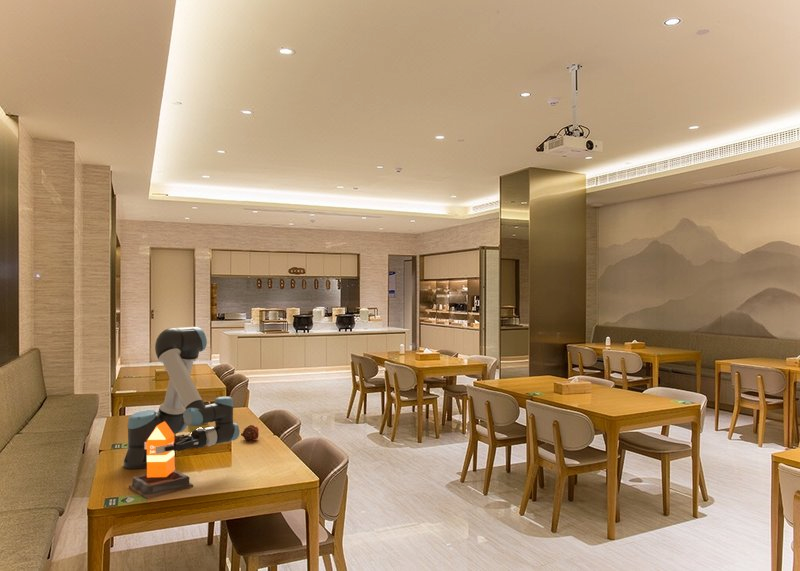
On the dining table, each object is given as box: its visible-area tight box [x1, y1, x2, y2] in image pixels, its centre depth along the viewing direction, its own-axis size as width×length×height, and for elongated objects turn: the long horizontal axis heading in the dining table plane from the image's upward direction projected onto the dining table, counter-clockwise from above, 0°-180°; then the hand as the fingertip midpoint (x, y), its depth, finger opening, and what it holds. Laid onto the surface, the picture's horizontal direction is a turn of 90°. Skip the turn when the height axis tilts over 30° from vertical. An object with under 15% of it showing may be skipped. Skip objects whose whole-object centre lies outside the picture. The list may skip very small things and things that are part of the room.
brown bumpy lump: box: [240, 424, 260, 442], centre depth 302 cm, size 8×8×12 cm
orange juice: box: [146, 421, 176, 477], centre depth 228 cm, size 8×9×20 cm
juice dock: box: [128, 469, 194, 499], centre depth 228 cm, size 18×18×4 cm
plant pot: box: [187, 422, 210, 434], centre depth 297 cm, size 10×10×10 cm
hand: (150, 448), depth 225 cm, fingers closed on orange juice, 10 cm apart
